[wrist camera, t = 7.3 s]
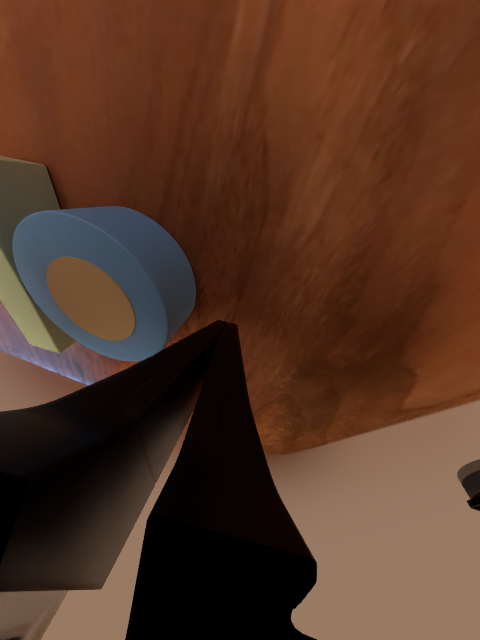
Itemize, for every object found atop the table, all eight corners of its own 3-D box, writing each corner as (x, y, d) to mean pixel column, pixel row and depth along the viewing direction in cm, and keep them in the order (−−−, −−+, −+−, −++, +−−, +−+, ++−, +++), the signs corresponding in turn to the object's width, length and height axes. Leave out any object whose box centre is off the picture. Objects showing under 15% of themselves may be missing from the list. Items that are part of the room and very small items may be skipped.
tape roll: (198, 222, 8) (159, 235, 6) (195, 340, 12) (171, 377, 10) (58, 192, 9) (-31, 192, 6) (98, 314, 13) (53, 342, 11)
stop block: (46, 164, 8) (-54, 153, 6) (100, 325, 14) (59, 353, 11) (7, 156, 9) (-105, 142, 6) (75, 318, 14) (29, 345, 11)
